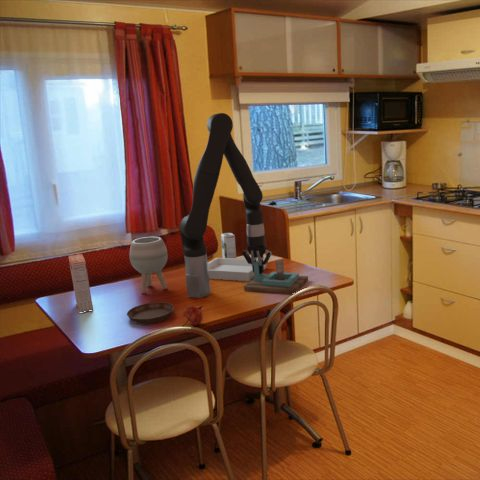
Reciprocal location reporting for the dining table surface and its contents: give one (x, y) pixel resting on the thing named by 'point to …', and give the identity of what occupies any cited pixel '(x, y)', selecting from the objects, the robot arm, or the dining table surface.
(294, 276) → the teal frame with handle
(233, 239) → the syrup box
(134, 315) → the plant saucer
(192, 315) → the pomegranate
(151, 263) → the planter
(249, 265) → the tray
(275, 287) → the stake board
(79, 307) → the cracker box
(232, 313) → the dining table surface
